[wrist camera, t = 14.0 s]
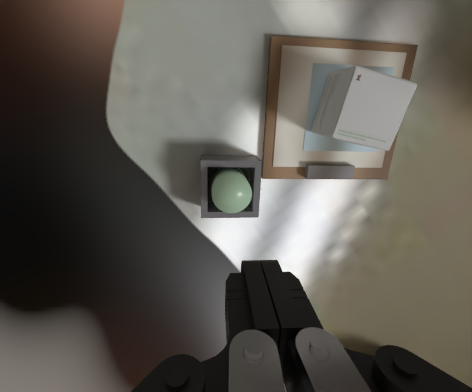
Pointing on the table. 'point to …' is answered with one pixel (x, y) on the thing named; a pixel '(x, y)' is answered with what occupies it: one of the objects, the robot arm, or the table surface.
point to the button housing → (230, 161)
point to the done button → (230, 190)
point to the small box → (363, 107)
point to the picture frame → (307, 101)
